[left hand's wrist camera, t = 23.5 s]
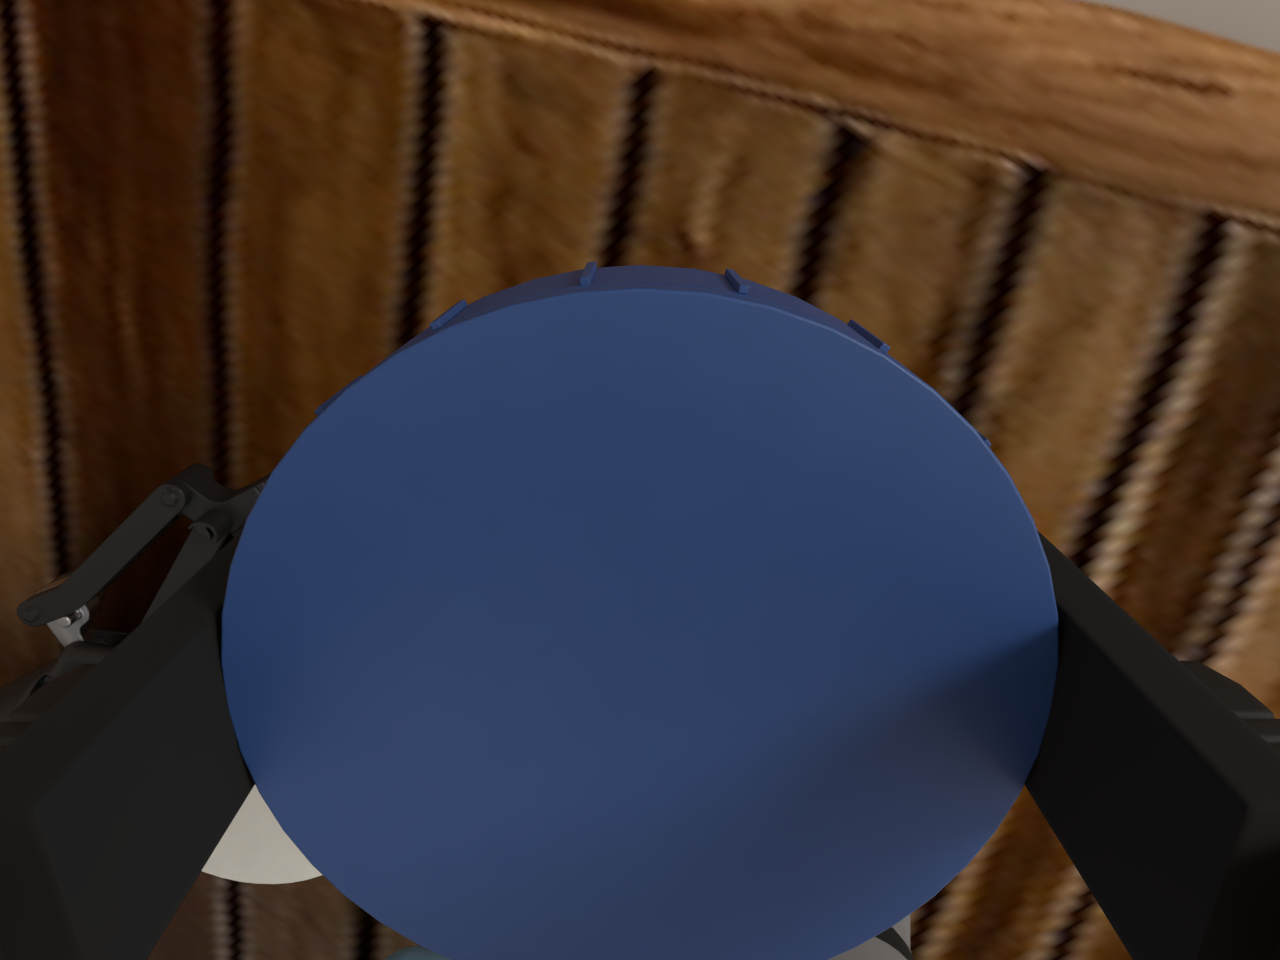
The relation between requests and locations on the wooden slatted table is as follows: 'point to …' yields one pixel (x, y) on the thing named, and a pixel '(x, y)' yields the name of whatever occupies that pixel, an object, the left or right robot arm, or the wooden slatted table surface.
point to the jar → (258, 849)
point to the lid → (639, 629)
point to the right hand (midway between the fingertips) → (448, 558)
